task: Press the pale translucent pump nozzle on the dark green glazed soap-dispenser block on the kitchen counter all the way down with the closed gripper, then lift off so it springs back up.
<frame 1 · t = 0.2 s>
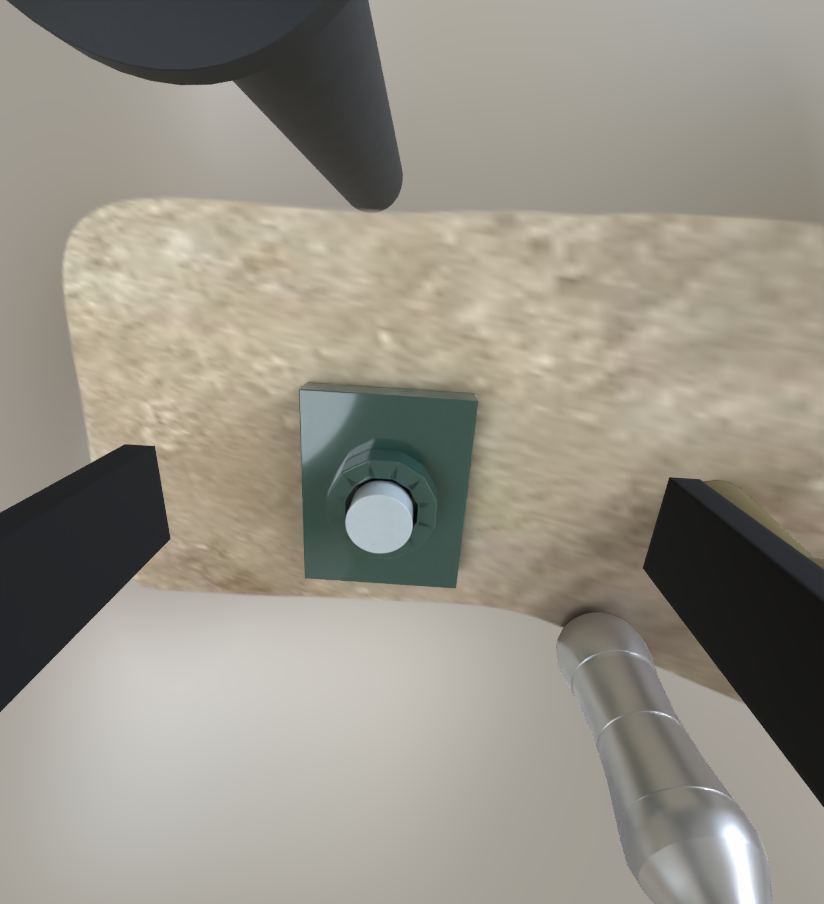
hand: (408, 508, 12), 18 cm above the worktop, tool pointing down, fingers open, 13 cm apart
dispenser: (386, 484, 31), on the worktop
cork: (704, 517, 32), on the worktop
nozzle: (380, 516, 27), point 5 cm above the worktop, slide at 0.1 cm
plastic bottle: (589, 631, 36), on the worktop
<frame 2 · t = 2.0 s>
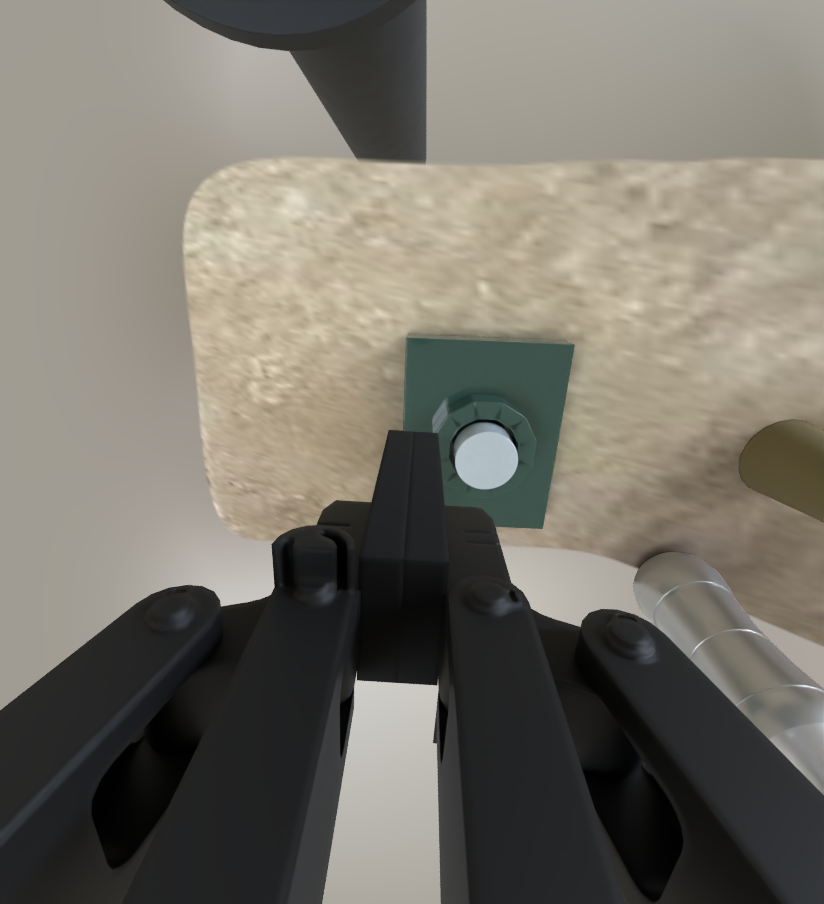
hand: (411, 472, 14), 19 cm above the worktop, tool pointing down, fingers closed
dispenser: (477, 431, 33), on the worktop
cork: (779, 456, 33), on the worktop
nozzle: (484, 455, 29), point 5 cm above the worktop, slide at 0.1 cm
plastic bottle: (662, 571, 38), on the worktop
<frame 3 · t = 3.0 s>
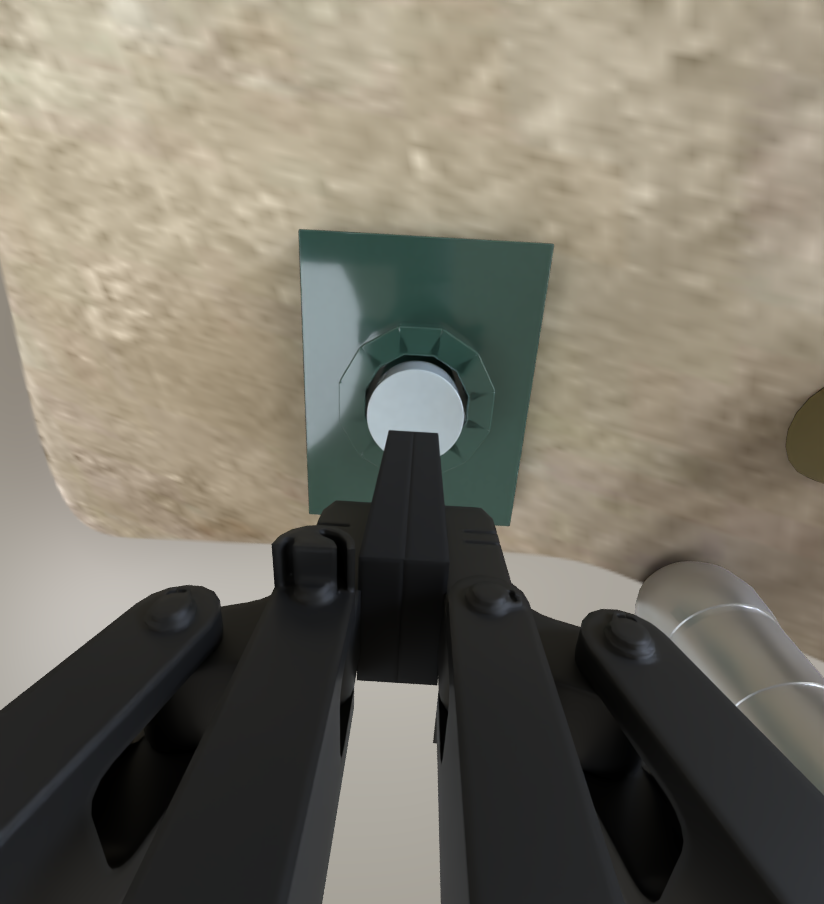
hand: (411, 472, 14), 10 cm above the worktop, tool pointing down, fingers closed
dispenser: (417, 386, 23), on the worktop
nozzle: (415, 410, 19), point 5 cm above the worktop, slide at 0.1 cm
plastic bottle: (674, 587, 28), on the worktop
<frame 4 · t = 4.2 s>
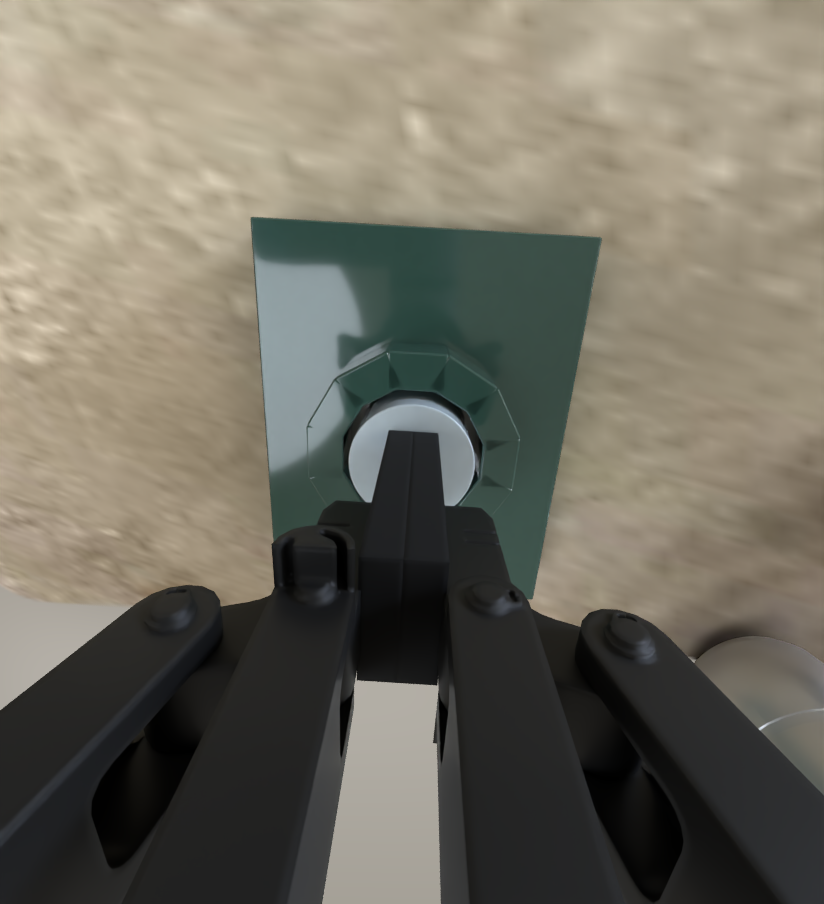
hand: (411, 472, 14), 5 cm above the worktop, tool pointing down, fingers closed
dispenser: (414, 421, 18), on the worktop
nozzle: (412, 454, 15), point 4 cm above the worktop, slide at -1.0 cm, touching gripper
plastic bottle: (731, 663, 23), on the worktop
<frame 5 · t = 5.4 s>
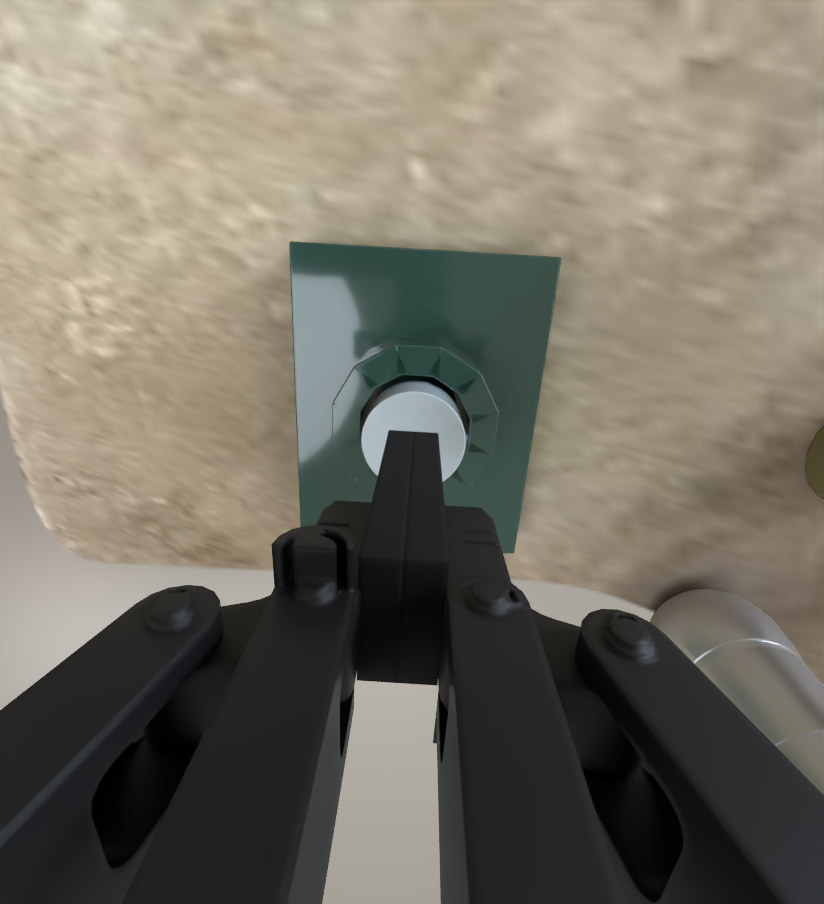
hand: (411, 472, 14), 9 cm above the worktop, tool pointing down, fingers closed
dispenser: (416, 405, 22), on the worktop
nozzle: (413, 434, 18), point 5 cm above the worktop, slide at 0.1 cm
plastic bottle: (687, 616, 26), on the worktop
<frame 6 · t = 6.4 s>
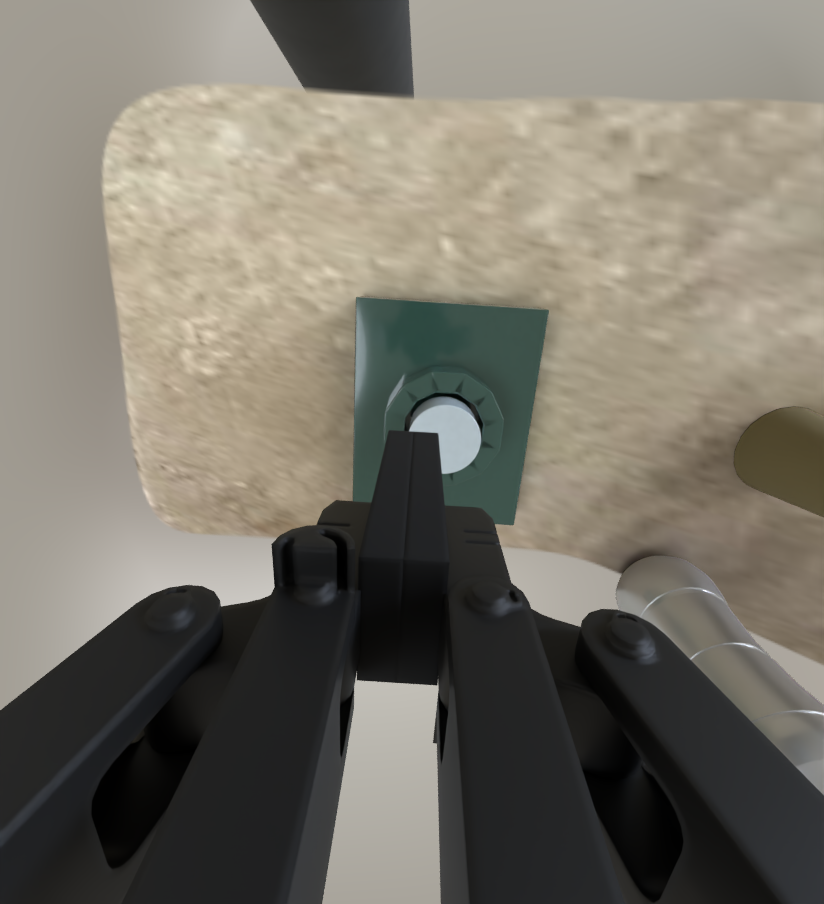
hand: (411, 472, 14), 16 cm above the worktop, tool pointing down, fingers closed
dispenser: (440, 412, 29), on the worktop
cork: (778, 449, 30), on the worktop
nozzle: (443, 434, 25), point 5 cm above the worktop, slide at 0.1 cm
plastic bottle: (649, 578, 34), on the worktop
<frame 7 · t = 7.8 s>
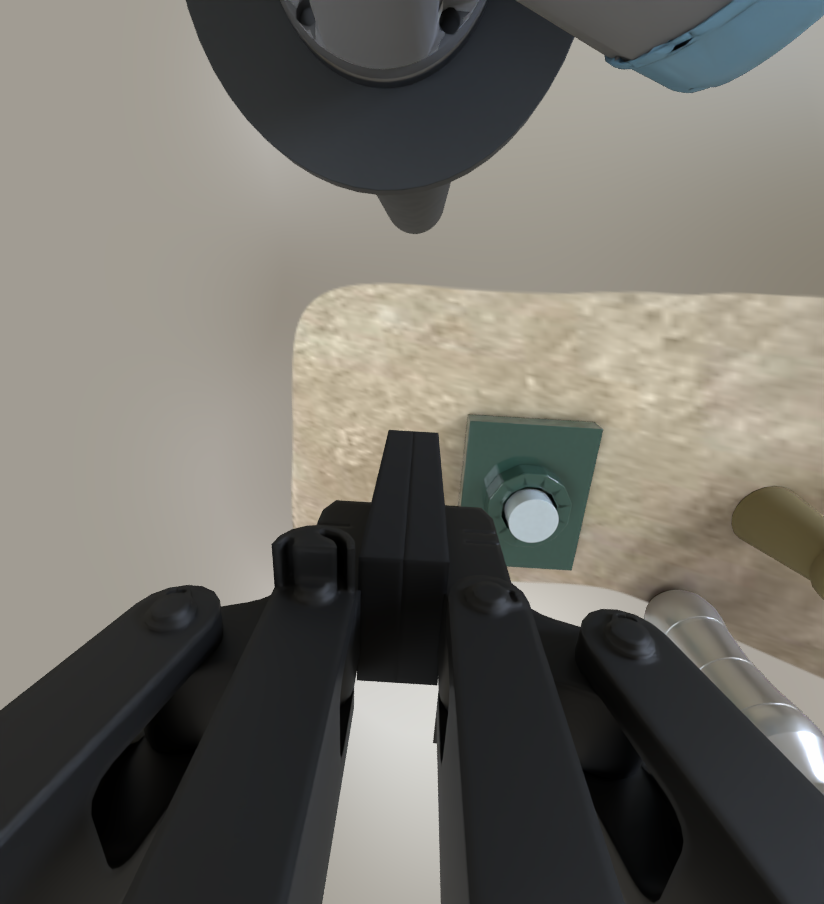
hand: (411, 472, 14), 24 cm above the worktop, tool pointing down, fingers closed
dispenser: (519, 490, 41), on the worktop
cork: (764, 514, 41), on the worktop
nozzle: (530, 515, 36), point 5 cm above the worktop, slide at 0.1 cm
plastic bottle: (668, 605, 45), on the worktop
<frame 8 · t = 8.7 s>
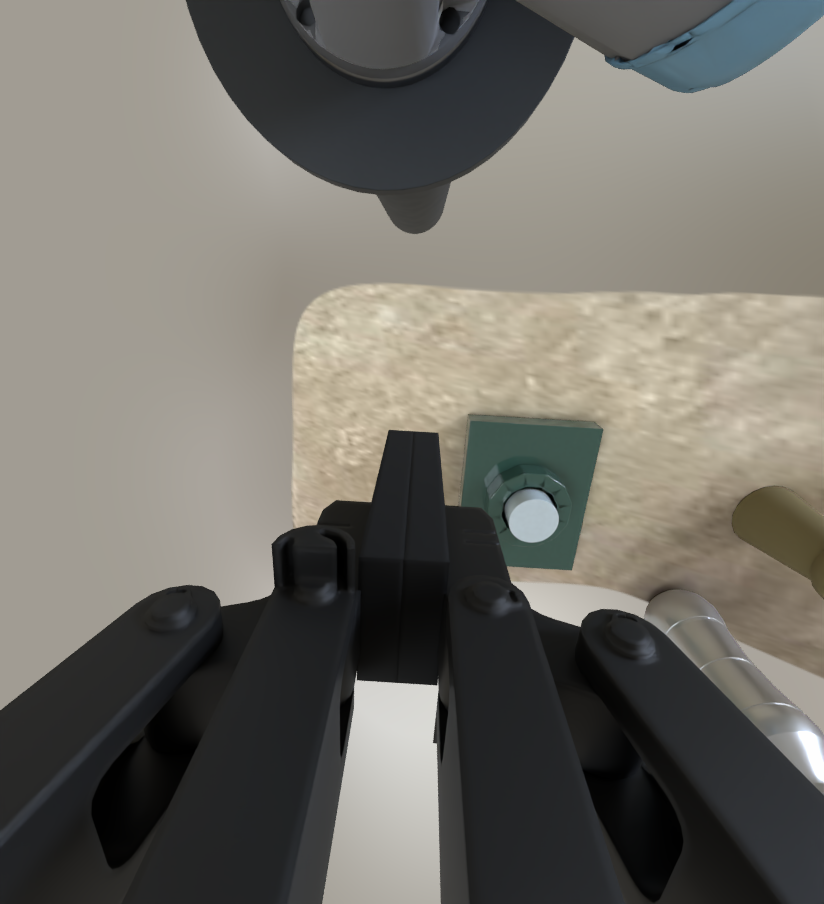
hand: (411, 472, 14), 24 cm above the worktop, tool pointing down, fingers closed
dispenser: (519, 490, 41), on the worktop
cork: (764, 514, 41), on the worktop
nozzle: (530, 515, 36), point 5 cm above the worktop, slide at 0.1 cm
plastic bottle: (668, 605, 45), on the worktop
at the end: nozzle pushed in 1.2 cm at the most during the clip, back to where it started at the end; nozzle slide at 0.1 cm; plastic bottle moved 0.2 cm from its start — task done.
